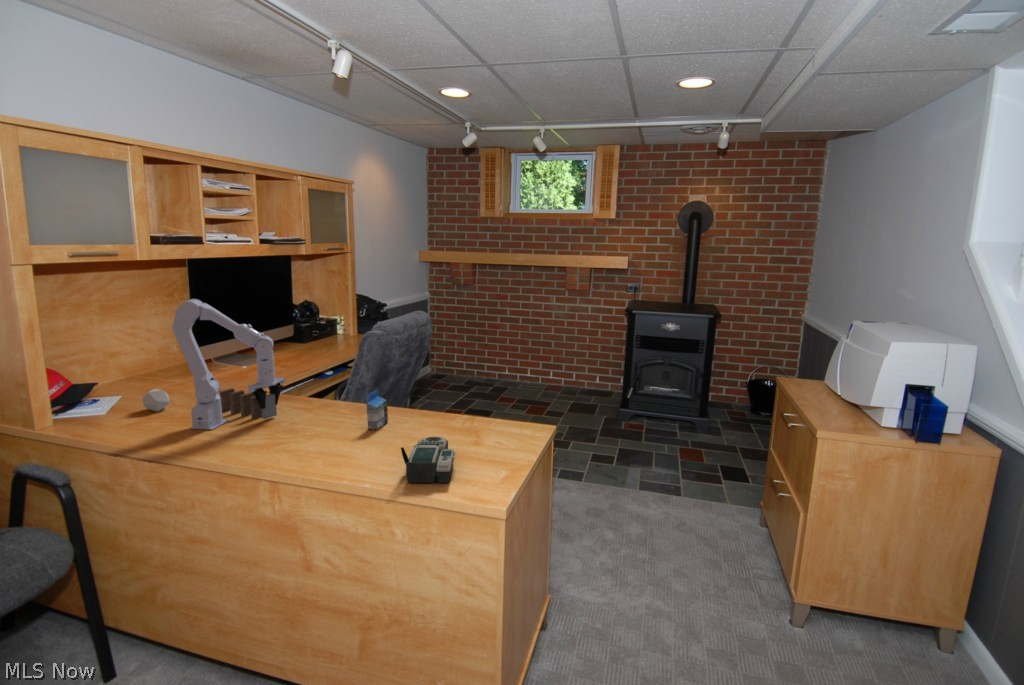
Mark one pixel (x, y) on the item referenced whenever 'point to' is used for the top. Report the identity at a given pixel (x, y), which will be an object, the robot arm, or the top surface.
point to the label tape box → (376, 411)
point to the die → (156, 400)
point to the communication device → (429, 461)
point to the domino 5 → (269, 407)
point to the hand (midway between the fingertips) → (268, 406)
